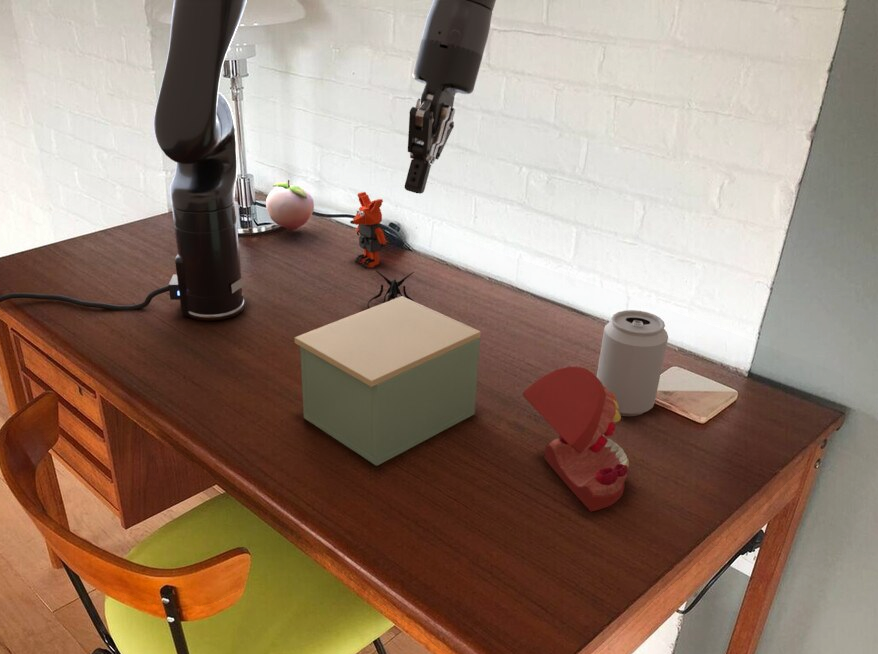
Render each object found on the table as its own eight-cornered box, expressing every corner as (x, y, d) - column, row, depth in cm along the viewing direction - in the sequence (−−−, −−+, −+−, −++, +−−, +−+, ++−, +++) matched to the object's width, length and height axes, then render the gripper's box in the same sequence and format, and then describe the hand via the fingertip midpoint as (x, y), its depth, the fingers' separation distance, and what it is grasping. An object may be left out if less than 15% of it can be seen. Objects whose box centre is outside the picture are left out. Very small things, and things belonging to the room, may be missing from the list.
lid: (371, 387, 89) (371, 380, 88) (294, 343, 98) (294, 337, 97) (480, 337, 99) (481, 331, 98) (401, 301, 107) (401, 295, 107)
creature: (416, 323, 129) (419, 292, 135) (416, 295, 125) (419, 265, 131) (365, 321, 130) (371, 290, 135) (364, 293, 126) (370, 263, 132)
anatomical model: (659, 491, 89) (632, 388, 81) (597, 528, 89) (564, 429, 80) (602, 440, 98) (573, 343, 90) (546, 474, 97) (511, 379, 89)
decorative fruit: (257, 232, 161) (254, 181, 155) (284, 220, 166) (281, 171, 161) (295, 242, 156) (293, 190, 151) (322, 229, 162) (320, 179, 157)
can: (654, 394, 108) (671, 311, 102) (651, 424, 102) (669, 337, 96) (595, 385, 110) (609, 302, 104) (589, 413, 104) (603, 328, 98)
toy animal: (338, 260, 148) (337, 194, 142) (363, 253, 151) (363, 188, 145) (364, 274, 143) (364, 206, 137) (389, 267, 145) (390, 200, 139)
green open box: (376, 466, 95) (377, 384, 89) (303, 418, 103) (299, 341, 98) (474, 414, 104) (480, 337, 99) (400, 374, 113) (401, 301, 107)
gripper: (435, 48, 105) (399, 185, 109) (408, 27, 92) (368, 182, 97) (492, 62, 103) (453, 200, 108) (472, 41, 90) (428, 199, 95)
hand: (413, 191), depth 102 cm, fingers closed
